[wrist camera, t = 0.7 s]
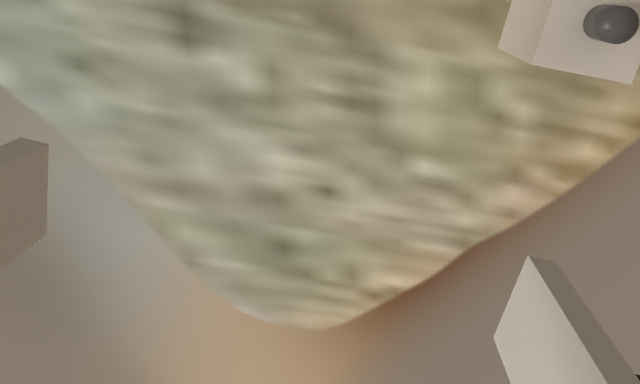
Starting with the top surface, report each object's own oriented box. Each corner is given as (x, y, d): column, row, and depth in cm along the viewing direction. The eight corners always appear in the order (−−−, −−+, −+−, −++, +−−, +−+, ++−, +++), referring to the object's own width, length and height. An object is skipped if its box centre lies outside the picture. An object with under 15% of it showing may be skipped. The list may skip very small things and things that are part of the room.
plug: (513, -38, 33) (584, -47, 22) (593, -22, 33) (701, -25, 22) (489, 44, 34) (544, 71, 24) (564, 59, 34) (652, 92, 24)
